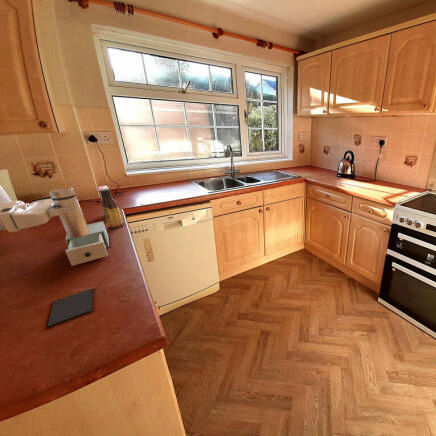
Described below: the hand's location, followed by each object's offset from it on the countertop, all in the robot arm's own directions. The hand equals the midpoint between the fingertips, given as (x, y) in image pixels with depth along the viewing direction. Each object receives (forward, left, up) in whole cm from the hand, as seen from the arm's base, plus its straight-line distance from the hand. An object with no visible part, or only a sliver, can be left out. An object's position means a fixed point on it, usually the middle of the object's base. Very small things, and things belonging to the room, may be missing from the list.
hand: (71, 206), depth 85 cm
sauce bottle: (+10, +34, -22) cm, 41 cm away
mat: (-4, -28, -22) cm, 36 cm away
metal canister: (-1, 0, -11) cm, 11 cm away
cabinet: (0, +16, -22) cm, 27 cm away
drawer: (0, +4, -21) cm, 22 cm away
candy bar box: (+9, +55, -22) cm, 60 cm away
